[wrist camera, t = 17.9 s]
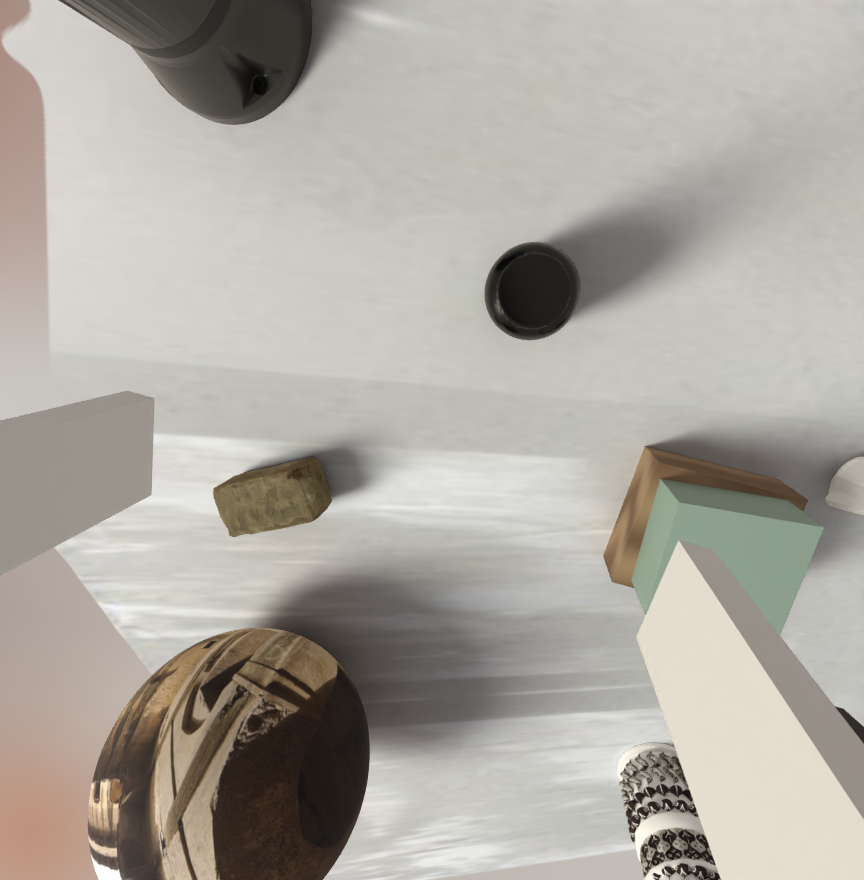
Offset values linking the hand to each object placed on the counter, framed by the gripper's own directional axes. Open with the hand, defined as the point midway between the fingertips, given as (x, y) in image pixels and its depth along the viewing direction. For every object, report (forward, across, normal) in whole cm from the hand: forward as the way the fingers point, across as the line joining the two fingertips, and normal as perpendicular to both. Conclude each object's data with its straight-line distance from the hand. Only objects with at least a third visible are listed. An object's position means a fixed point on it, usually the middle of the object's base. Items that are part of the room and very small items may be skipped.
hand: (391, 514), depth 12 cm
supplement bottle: (+35, +2, +6) cm, 36 cm away
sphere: (+35, -13, -43) cm, 57 cm away
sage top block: (+30, +22, -10) cm, 39 cm away
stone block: (+36, -15, -17) cm, 42 cm away
